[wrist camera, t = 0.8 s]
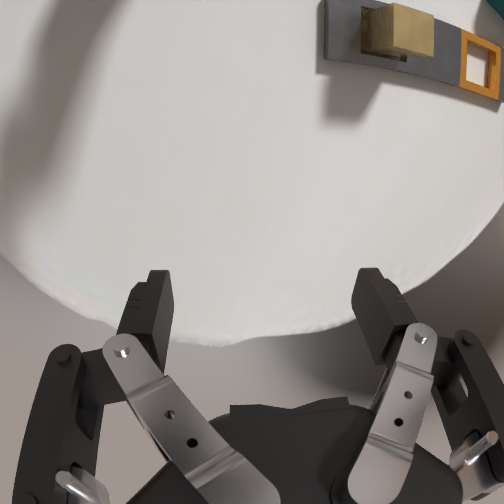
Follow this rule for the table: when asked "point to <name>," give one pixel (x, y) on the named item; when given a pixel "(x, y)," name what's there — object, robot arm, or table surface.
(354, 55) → the rail
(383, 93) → the table surface
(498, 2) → the bracket
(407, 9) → the block
